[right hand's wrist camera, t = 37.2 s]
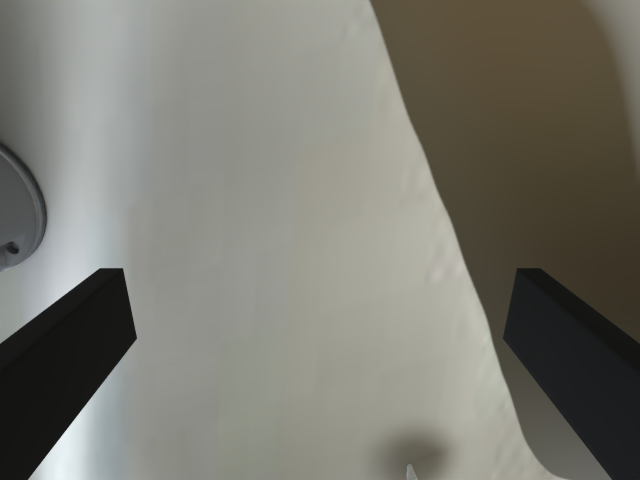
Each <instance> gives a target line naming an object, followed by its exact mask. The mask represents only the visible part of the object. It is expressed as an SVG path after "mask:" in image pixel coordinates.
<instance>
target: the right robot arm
mask: <svg viewBox="0 0 640 480" xmlns="http://www.w3.org/2000/svg"><path fill="white" fill-rule="evenodd" d="M45 223H46V214H45V207H44V202H43V199H42V196H41V193H40V190H39V188H38V186H37V184H36V182H35V180H34V179H33V177H32V175H31V174H30V172H29V171H28V170H27V168H26V167H25V166H24V165H23V163H22V162H21V161H20V160H19V159H18V158H17V157H16V156H15V155H14V154H13V153H12V152H11V151H10V150H8V149H7V148H6V147H5V146H3V145H2V144H0V272H1V271H4V270H6V269H9V268H11V267H13V266H15V265H17V264H18V263H20V262H22V261H24V260H25V259H27V258H28V257H29V256H30V255H31V254H32V253H33V252H34V251H35V250H36V249H37V247H38V246H39V244H40V242H41V240H42V237H43V234H44V230H45ZM136 339H137V336H136V331H135V326H134V321H133V316H132V311H131V306H130V301H129V296H128V291H127V286H126V281H125V276H124V272H123V268H100V269H98V270H97V271H96V272H94V273H93V274H92V275H90V276H89V277H88V278H86V279H85V280H84V281H82V282H81V283H80V284H79V285H77V286H76V287H75V288H73V289H72V290H71V291H69V292H68V293H67V294H65V295H64V296H63V297H61V298H60V299H59V300H57V301H56V302H55V303H53V304H52V305H51V306H50V307H48V308H47V309H46V310H44V311H43V312H42V313H40V314H39V315H38V316H36V317H35V318H34V319H32V320H31V321H30V322H28V323H27V324H26V325H24V326H23V327H22V328H20V329H19V330H18V331H17V332H15V333H14V334H13V335H11V336H10V337H9V338H7V339H6V340H5V341H3V342H2V343H1V344H0V480H28V479H29V478H30V476H31V475H32V474H33V472H34V471H35V470H36V468H37V467H38V466H39V465H40V463H41V462H42V461H43V459H44V458H45V457H46V456H47V454H48V453H49V452H50V450H51V449H52V448H53V446H54V445H55V444H56V443H57V441H58V440H59V439H60V437H61V436H62V435H63V433H64V432H65V431H66V430H67V428H68V427H69V426H70V424H71V423H72V422H73V421H74V419H75V418H76V417H77V415H78V414H79V413H80V411H81V410H82V409H83V408H84V406H85V405H86V404H87V402H88V401H89V400H90V399H91V397H92V396H93V395H94V393H95V392H96V391H97V389H98V388H99V387H100V386H101V384H102V383H103V382H104V380H105V379H106V378H107V377H108V375H109V374H110V373H111V371H112V370H113V369H114V367H115V366H116V365H117V364H118V362H119V361H120V360H121V358H122V357H123V356H124V355H125V353H126V352H127V351H128V349H129V348H130V347H131V345H132V344H133V343H134V342H135V340H136ZM503 339H504V340H505V342H506V343H507V344H508V345H509V347H510V348H511V349H512V351H513V352H514V353H515V354H516V356H517V357H518V358H519V360H520V361H521V362H522V364H523V365H524V366H525V367H526V369H527V370H528V371H529V373H530V374H531V375H532V377H533V378H534V379H535V380H536V382H537V383H538V384H539V386H540V387H541V388H542V389H543V391H544V392H545V393H546V395H547V396H548V397H549V399H550V400H551V401H552V402H553V404H554V405H555V406H556V408H557V409H558V410H559V411H560V413H561V414H562V415H563V417H564V418H565V419H566V421H567V422H568V423H569V424H570V426H571V427H572V428H573V430H574V431H575V432H576V433H577V435H578V436H579V437H580V439H581V440H582V441H583V443H584V444H585V445H586V446H587V448H588V449H589V450H590V452H591V453H592V454H593V455H594V457H595V458H596V459H597V461H598V462H599V463H600V465H601V466H602V467H603V468H604V470H605V471H606V472H607V474H608V475H609V476H610V477H611V479H612V480H640V344H639V343H638V342H637V341H635V340H634V339H633V338H631V337H630V336H629V335H627V334H626V333H625V332H623V331H622V330H621V329H619V328H618V327H617V326H616V325H614V324H613V323H612V322H610V321H609V320H608V319H606V318H605V317H604V316H602V315H601V314H600V313H598V312H597V311H596V310H594V309H593V308H592V307H590V306H589V305H588V304H586V303H585V302H584V301H582V300H581V299H580V298H579V297H577V296H576V295H575V294H573V293H572V292H571V291H569V290H568V289H567V288H565V287H564V286H563V285H561V284H560V283H559V282H558V281H556V280H555V279H553V278H552V277H551V276H550V275H548V274H547V273H546V272H544V271H543V270H542V269H540V268H517V272H516V276H515V281H514V286H513V291H512V296H511V301H510V306H509V311H508V316H507V321H506V326H505V331H504V336H503Z"/></svg>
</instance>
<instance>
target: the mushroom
mask: <svg viewBox="0 0 640 480" xmlns="http://www.w3.org/2000/svg"><path fill="white" fill-rule="evenodd" d="M407 480H418V479H417V477H416V475H415V472H414V470H413V467H412V465H411V464H408V466H407Z"/></svg>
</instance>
